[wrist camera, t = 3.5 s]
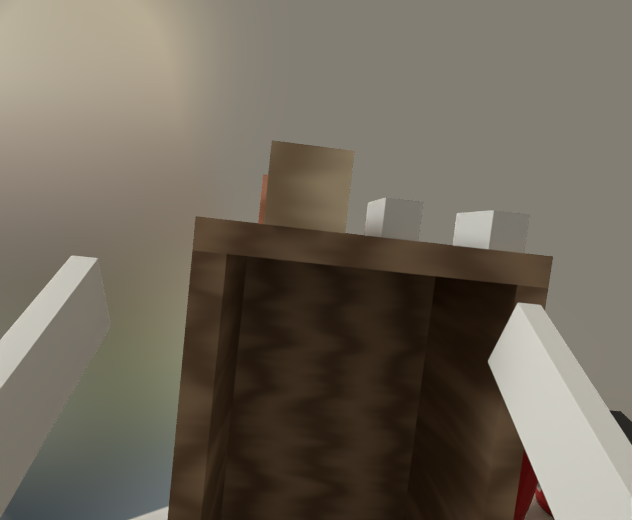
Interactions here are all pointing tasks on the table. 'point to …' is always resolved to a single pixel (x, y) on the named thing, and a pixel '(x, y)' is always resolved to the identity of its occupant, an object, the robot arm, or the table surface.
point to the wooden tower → (346, 377)
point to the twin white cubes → (470, 227)
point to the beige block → (306, 187)
